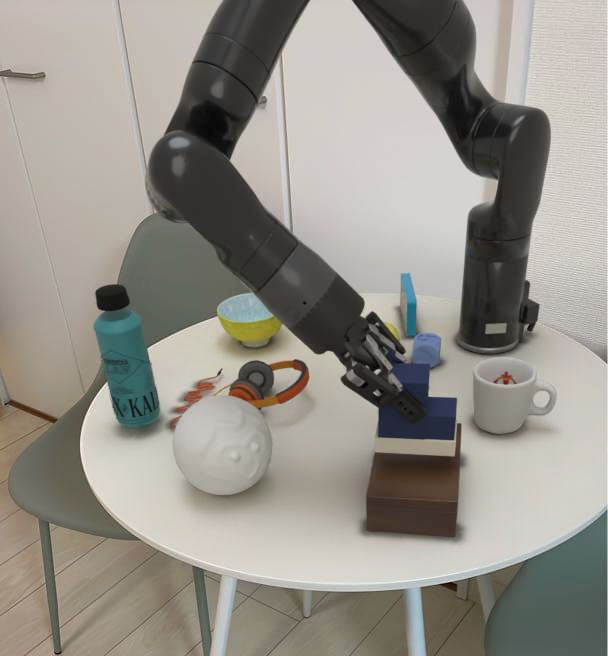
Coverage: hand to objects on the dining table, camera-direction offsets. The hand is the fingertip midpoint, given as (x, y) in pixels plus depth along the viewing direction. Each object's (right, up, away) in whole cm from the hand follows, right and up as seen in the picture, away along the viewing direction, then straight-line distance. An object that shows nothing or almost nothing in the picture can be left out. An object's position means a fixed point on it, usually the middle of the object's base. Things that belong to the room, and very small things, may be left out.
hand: (421, 404), depth 83 cm
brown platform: (0, -9, +8) cm, 12 cm away
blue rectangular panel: (+5, +22, +44) cm, 49 cm away
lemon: (0, +15, +37) cm, 40 cm away
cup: (+15, 0, +18) cm, 23 cm away
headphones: (-22, +5, +27) cm, 35 cm away
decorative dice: (+6, +12, +33) cm, 35 cm away
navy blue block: (0, -4, +3) cm, 5 cm away
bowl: (-21, +18, +42) cm, 50 cm away
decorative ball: (-22, -8, +11) cm, 26 cm away
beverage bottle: (-36, +1, +24) cm, 43 cm away
